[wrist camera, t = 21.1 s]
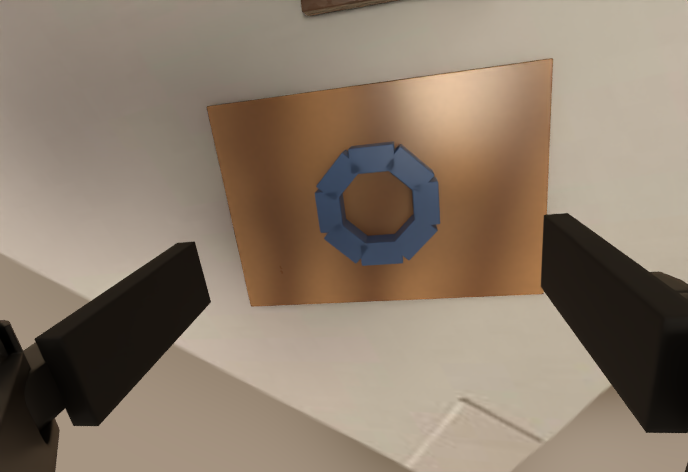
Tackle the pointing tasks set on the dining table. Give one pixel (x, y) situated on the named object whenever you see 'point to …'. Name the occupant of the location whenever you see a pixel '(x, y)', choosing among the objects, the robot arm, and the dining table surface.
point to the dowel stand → (335, 5)
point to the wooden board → (393, 185)
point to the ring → (378, 246)
